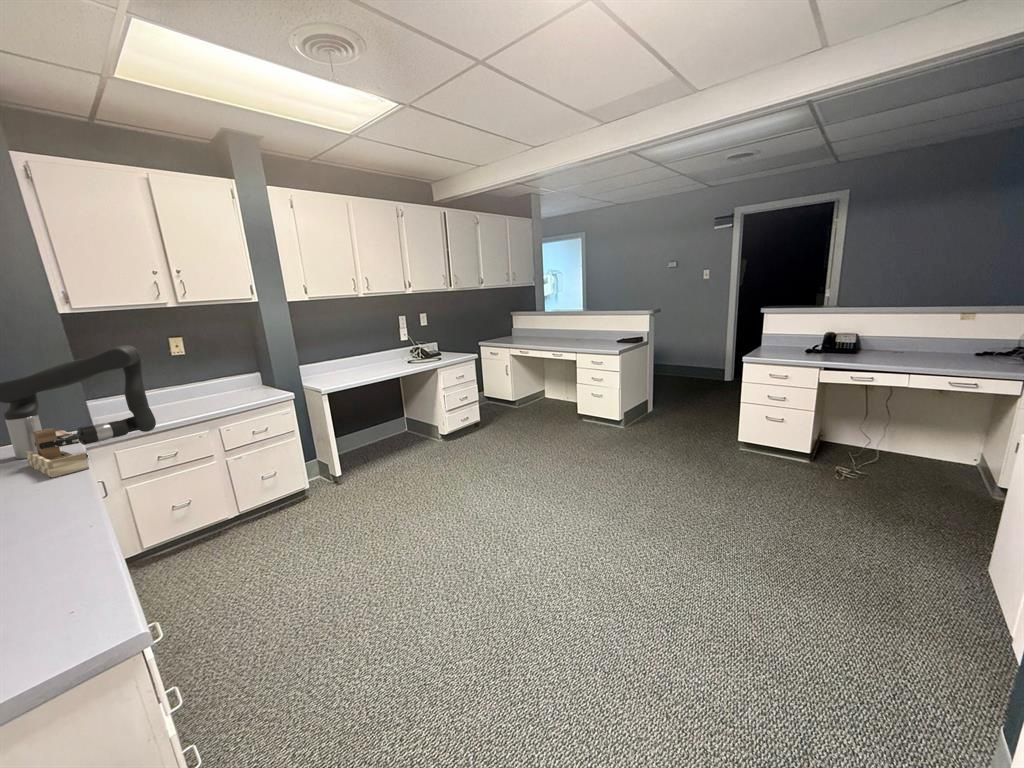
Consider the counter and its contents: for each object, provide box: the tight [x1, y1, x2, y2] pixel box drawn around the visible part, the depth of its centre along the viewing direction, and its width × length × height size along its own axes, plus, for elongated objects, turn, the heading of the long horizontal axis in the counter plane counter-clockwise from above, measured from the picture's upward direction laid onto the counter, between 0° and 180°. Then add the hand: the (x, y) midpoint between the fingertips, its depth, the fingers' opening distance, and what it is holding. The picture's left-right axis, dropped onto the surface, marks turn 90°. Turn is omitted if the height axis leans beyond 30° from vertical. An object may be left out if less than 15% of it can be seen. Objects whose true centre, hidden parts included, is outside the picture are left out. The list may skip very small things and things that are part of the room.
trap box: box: [26, 450, 90, 479], centre depth 163 cm, size 28×10×6 cm, turn 60°
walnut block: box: [33, 427, 61, 459], centre depth 166 cm, size 5×5×14 cm
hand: (37, 445), depth 163 cm, fingers closed on walnut block, 5 cm apart
